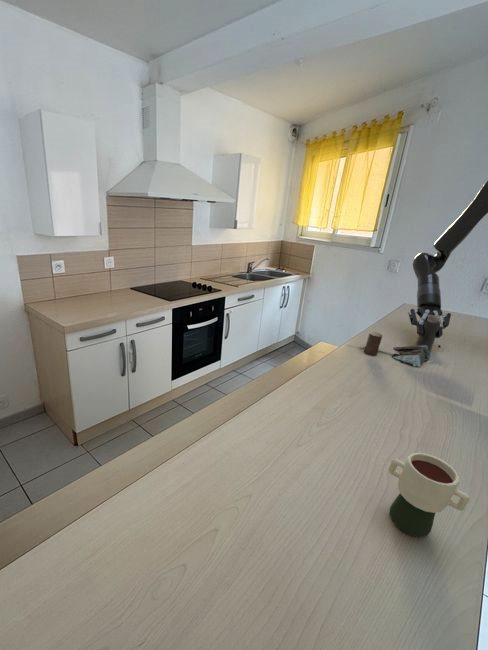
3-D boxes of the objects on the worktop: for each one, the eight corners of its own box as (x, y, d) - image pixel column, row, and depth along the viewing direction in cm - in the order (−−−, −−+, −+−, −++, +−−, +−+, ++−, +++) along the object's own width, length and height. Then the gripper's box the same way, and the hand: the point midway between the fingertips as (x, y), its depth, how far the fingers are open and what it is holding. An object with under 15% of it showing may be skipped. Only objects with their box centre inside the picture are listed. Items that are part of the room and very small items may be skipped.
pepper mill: (429, 349, 127) (441, 315, 122) (431, 353, 123) (444, 319, 118) (413, 346, 130) (425, 313, 124) (415, 350, 125) (427, 317, 120)
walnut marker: (376, 352, 125) (382, 333, 122) (376, 356, 121) (382, 337, 118) (363, 349, 127) (369, 331, 124) (363, 354, 123) (369, 334, 120)
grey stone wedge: (383, 358, 122) (414, 347, 111) (390, 348, 125) (420, 337, 115) (400, 378, 121) (432, 369, 111) (406, 367, 125) (438, 358, 114)
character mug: (448, 531, 56) (478, 476, 51) (440, 559, 52) (472, 502, 47) (381, 492, 63) (401, 440, 58) (368, 514, 59) (389, 459, 54)
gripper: (412, 290, 126) (412, 329, 121) (455, 294, 123) (457, 335, 117) (404, 300, 133) (404, 337, 127) (444, 304, 130) (446, 342, 124)
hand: (429, 335), depth 122 cm, fingers closed on pepper mill, 5 cm apart
